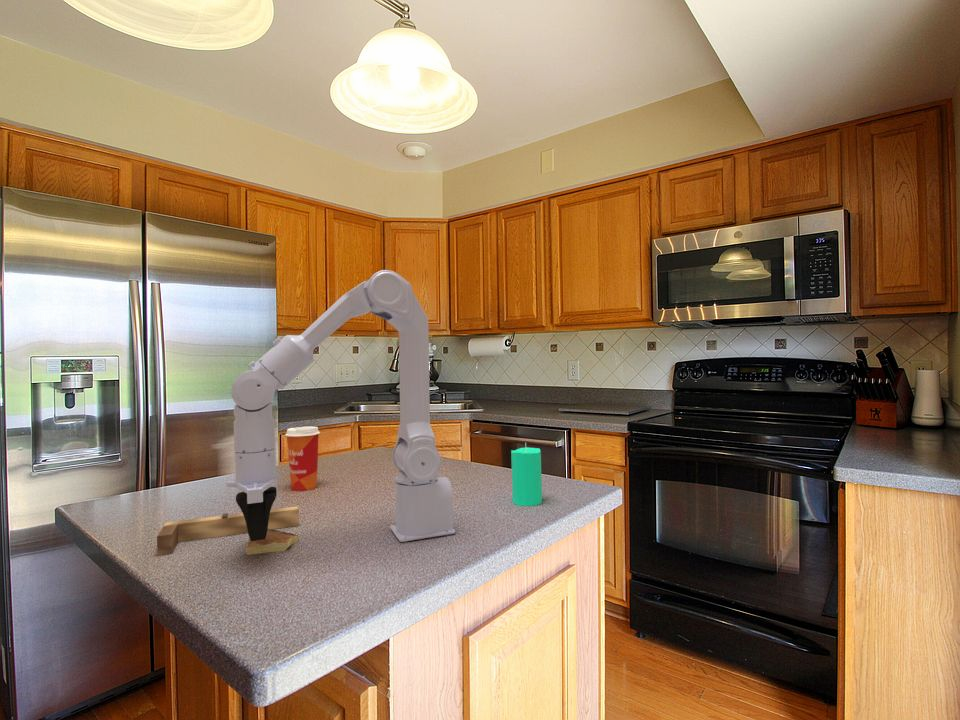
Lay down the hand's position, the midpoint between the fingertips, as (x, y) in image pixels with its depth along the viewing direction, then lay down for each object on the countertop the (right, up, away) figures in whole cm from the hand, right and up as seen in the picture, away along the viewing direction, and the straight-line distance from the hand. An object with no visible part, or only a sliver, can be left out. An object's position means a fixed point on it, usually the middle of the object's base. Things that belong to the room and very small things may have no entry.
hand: (258, 538), depth 79 cm
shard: (-1, -3, +5) cm, 6 cm away
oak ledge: (-8, -3, +9) cm, 12 cm away
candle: (+43, -2, +26) cm, 51 cm away
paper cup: (-7, -3, +42) cm, 43 cm away
